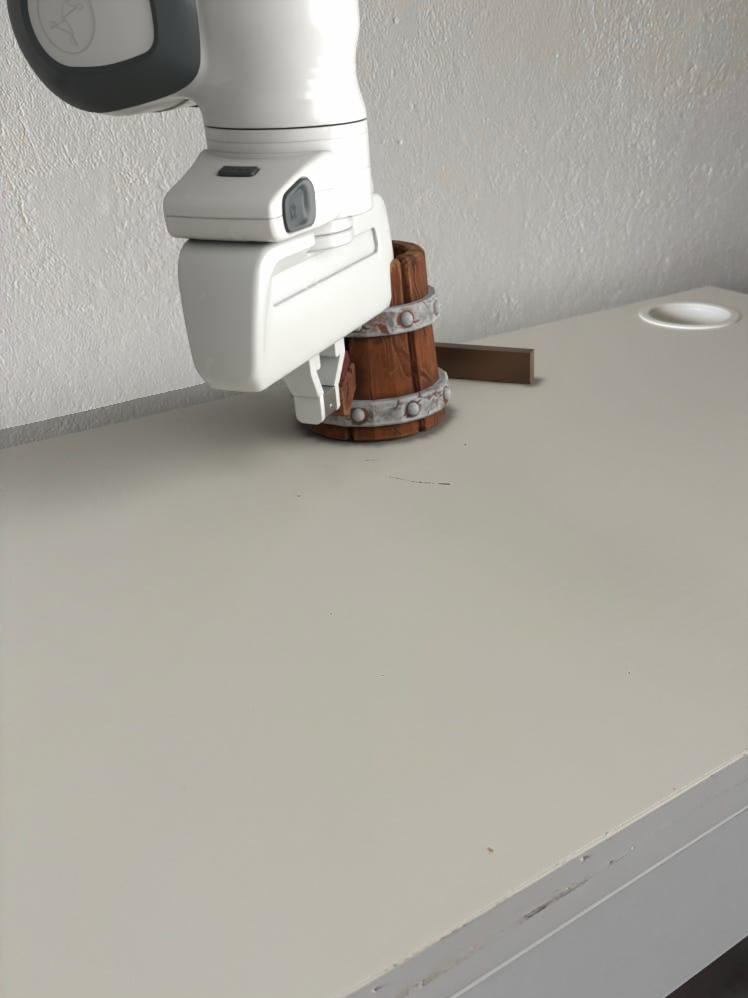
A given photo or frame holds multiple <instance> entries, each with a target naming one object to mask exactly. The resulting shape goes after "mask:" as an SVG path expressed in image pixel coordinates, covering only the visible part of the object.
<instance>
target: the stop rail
mask: <svg viewBox="0 0 748 998" xmlns="http://www.w3.org/2000/svg"><path fill="white" fill-rule="evenodd" d="M434 342H435V350H436V358H437V366H438V367H439V368H441V369H442V370H444V371H445V372H446V373H447V376H448V379H449V378H450V379H464V380H477V381H489V382H499V383H500V382H502V383H513V384H526V385H530V384H531V383H532V382H533V381H534V380H535V348H527V347H511V346H496V345H483V344H469V343H468V344H466V343H452V342H437V341H434Z"/></svg>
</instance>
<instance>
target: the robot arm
mask: <svg viewBox="0 0 748 998" xmlns="http://www.w3.org/2000/svg"><path fill="white" fill-rule="evenodd" d="M5 2H6V9H7V15H8V18H9V21H10V26H11V29H12V32H13V36H14V38H15V41H16V43H17V45H18V48H19V50H20V51H21V53H22V55H23V57H24V59H25V61H26V62H27V64H28V65H29V67H30V69H31V70H32V71H33V73H34V74H35V76H36V77H37V78H38V79H39V81H40V82H41V83H42V84H43V85H44V86H45V87H46V88H47V89H48V90H49V91H50V92H51V93H52V94H53V95H55V97H57V98H59V99H60V100H61V101H62V102H64V103H65V104H67V105H69V106H71V107H73V108H75V109H78V110H81V111H84V112H87V113H93V114H99V115H104V116H110V117H130V116H135V115H143V114H149V113H157V114H158V113H164V112H169V111H174V110H179V109H183V108H198V109H199V111H200V113H201V117H202V122H203V128H204V135H205V142H206V148H204V149H202V150H201V151H200V152H199V154H198V155H197V157H196V158H195V160H194V162H193V163H192V165H191V166H190V167H189V168H188V170H187V171H186V172H185V173H184V174H183V176H182V177H181V178H180V179H178V181H177V182H176V183H175V184H174V185H173V186H172V187H171V188H170V189H169V190H168V191H167V192H166V193H165V195H164V198H163V201H162V209H163V211H162V213H163V215H164V216H163V217H164V223H165V227H166V230H167V232H168V234H169V236H171V237H172V238H175V239H186V241H185V242H184V244H183V245H182V246H181V248H180V251H179V255H178V260H177V280H178V281H177V282H178V288H179V295H180V296H179V297H180V301H181V309H182V313H183V321H184V325H185V330H186V335H187V340H188V345H189V350H190V355H191V358H192V362H193V365H194V368H195V370H196V372H197V373H198V375H199V377H200V378H201V379H202V381H204V383H205V384H206V385H207V386H208V387H209V388H211V389H214V390H220V391H229V392H241V393H242V392H243V393H260V392H263V391H265V390H266V389H268V388H269V387H270V386H272V385H273V384H275V383H277V382H279V380H281V379H282V380H283V382H284V383H285V385H286V387H287V388H288V391H289V393H290V392H291V394H292V395H293V396H294V399H293V402H294V404H293V405H294V411H295V417H296V419H297V421H298V422H299V423H301V424H305V423H306V424H316V425H317V424H320V423H321V422H322V421H324V420H325V419H326V418H327V417H329V416H330V415H331V414H332V413H333V412H335V411H336V410H338V409H339V407H340V396H339V385H338V383H339V381H340V376H341V371H342V365H343V360H344V355H345V346H344V337H345V336H347V335H348V334H350V333H351V332H353V331H354V330H356V329H357V328H359V327H360V326H362V325H363V324H365V323H366V322H368V321H369V320H371V319H372V318H374V317H375V316H377V315H378V314H380V313H382V312H383V311H384V310H385V309H387V308H388V307H389V306H390V302H391V281H390V263H391V261H392V260H393V259H394V256H393V247H392V240H393V239H392V234H391V227H390V221H389V215H388V210H387V207H386V203H385V201H384V199H383V197H382V196H381V195H380V193H377V192H375V189H374V182H373V178H372V166H371V163H372V162H371V153H370V151H371V150H370V139H369V138H370V137H369V127H368V113H367V107H366V103H365V100H364V98H363V94H362V92H361V88H360V85H359V80H358V74H357V47H358V41H359V36H360V30H361V18H360V16H361V15H360V5H359V0H6V1H5ZM306 424H305V425H306Z"/></svg>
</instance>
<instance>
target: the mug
mask: <svg viewBox="0 0 748 998" xmlns="http://www.w3.org/2000/svg"><path fill="white" fill-rule="evenodd" d="M391 240H392V247H393V256H394V259H393V260H392V261H391V263H390V281H391V302H390V306H389V307H388V308H387V309H385V310H384V311H383V312H382V313H380V314H378V315H377V316H375V317H374V318H372V319H371V320H369V321H368V322H366V323H365V324H363V325H362V326H360V327H359V328H357V329H356V330H354V331H353V332H351V333H350V334H348V335H347V336H345V337H344V346H345V355H344V360H343V365H342V371H341V376H340V381H339V383H338V385H339V396H340V407H339V409H338V410H336V411H335V412H333V413H332V414H331V415H330V416H329V417H327V418H326V419H325V420H324V421H322V422H321V423H320V424H317V425H316V424H306V423H304V425H306V427H307V428H308V429H309V430H311V432H313V433H315V434H317V435H320V436H323V437H326V438H328V439H335V440H341V441H348V440H349V439H350V438H351V437H352V438H353V440H354V442H379V441H388V440H397V439H401V438H407V437H409V436H414V435H417V434H419V432H420V431H422V432H426V431H427V430H430V429H432V428H433V427H435V426H437V425H439V423H440V422H441V420H442V419H443V418H444V417H445V416H446V410H445V406H446V405H447V404H448V403H449V402H450V401H451V397H452V390H451V389H450V381H449V377H448V376H447V373H446V372H445V371H444V370H442V369H441V368H439V367H438V366H437V358H436V350H435V342H436V341H435V335H434V328H433V327H434V326H433V323H434V322H435V321H436V320H438V319H439V318H440V316H441V311H442V304H441V302H439V294H438V291H437V289H436V288H435V287H434V286H432V285H430V284H429V283H428V282H429V281H428V272H427V262H426V261H427V260H426V252H425V249H424V248H423V247H421V246H420V245H419V244H417V243H414V242H409V241H404V240H398V239H391ZM289 394H290V397H291V398H292V399H293V400H294V396H293V395H292V394H291V392H290V391H289Z"/></svg>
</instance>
